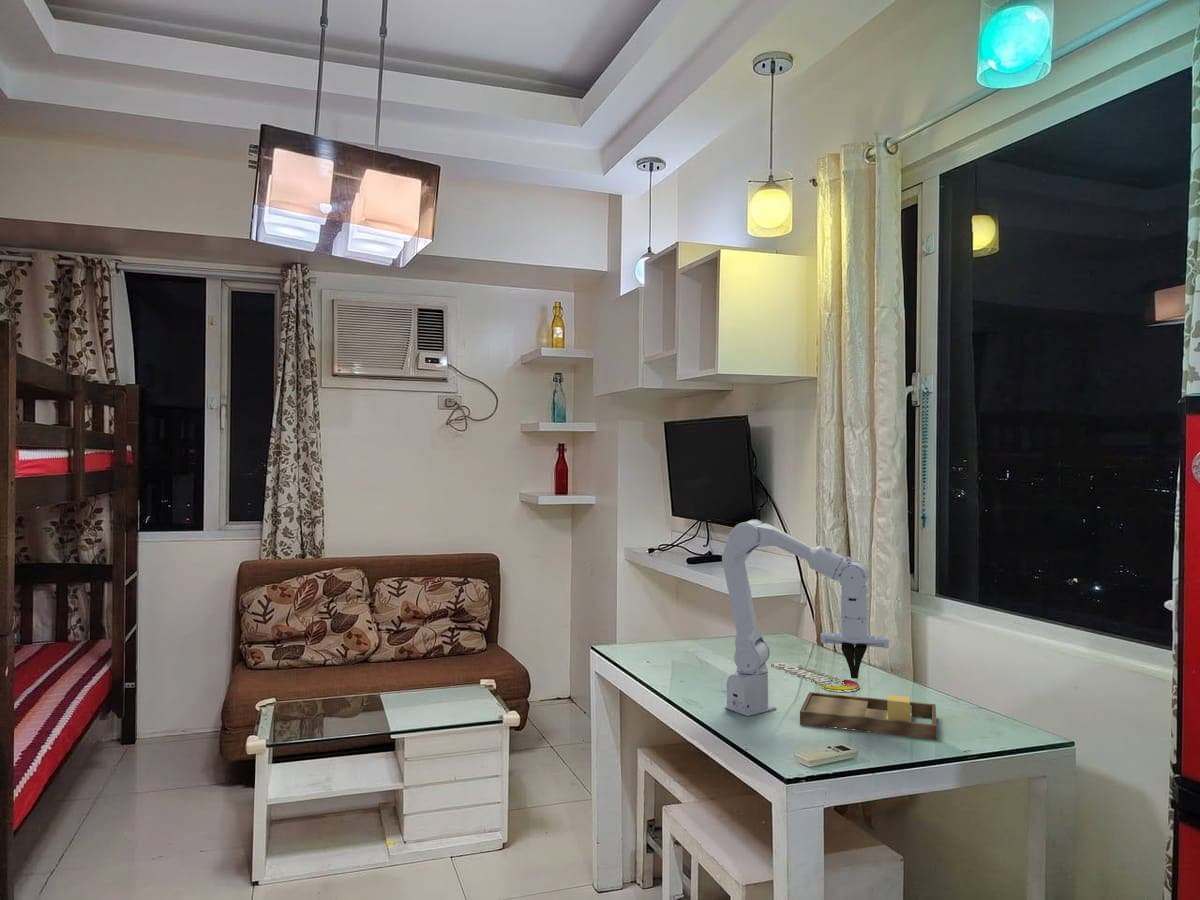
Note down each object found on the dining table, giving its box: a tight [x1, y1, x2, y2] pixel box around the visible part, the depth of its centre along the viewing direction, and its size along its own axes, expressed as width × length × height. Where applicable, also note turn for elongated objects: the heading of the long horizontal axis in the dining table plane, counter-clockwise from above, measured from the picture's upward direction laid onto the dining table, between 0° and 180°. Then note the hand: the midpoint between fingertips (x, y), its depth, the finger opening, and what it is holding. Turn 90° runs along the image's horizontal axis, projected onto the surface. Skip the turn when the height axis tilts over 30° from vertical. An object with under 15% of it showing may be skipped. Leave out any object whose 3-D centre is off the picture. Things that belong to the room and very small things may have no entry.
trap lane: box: [799, 691, 938, 740], centre depth 184 cm, size 28×16×3 cm, turn 68°
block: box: [887, 694, 911, 721], centre depth 179 cm, size 4×4×4 cm
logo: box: [770, 662, 860, 691], centre depth 219 cm, size 29×1×10 cm
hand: (854, 677), depth 183 cm, fingers closed
